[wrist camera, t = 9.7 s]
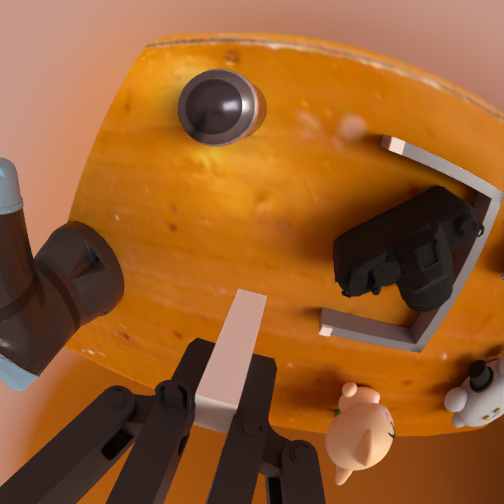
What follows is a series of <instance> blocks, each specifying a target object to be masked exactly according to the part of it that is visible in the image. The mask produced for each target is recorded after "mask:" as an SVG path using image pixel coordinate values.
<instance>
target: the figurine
mask: <svg viewBox="0 0 504 504" xmlns="http://www.w3.org/2000/svg"><path fill="white" fill-rule="evenodd" d="M468 374H469V377H468V378H467V379H465V381H464V382H463V383H462V384H461V386H460V387H456V388H453V389H451V390H450V391H449V392H448V393H447V395H446V396H445V399H444V405H445V407H446V409H447V410H448V411H451V412H456V413H455V414H454V415H453V416H452V425H453V426H454V427H457V428H459V427H462V426H464V425H467V426H471V427H477V426H482V425H484V424H487V423H489V422H491V421H493V420H495V419H496V418H498V417H499V416H501V415H502V414H503V413H504V354H503V355H502V356H501V357H500V359H497V360H494V361H491V362H489V363H487V364H486V363H485V362H484V361H483V360H477V361H475V362H474V363H472V365H471V366H470V367H469V370H468Z"/></svg>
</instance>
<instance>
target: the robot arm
mask: <svg viewBox="0 0 504 504" xmlns="http://www.w3.org/2000/svg"><path fill="white" fill-rule="evenodd" d="M123 293H124V280H123V275H122V271H121V268H120V266H119V263H118V261H117V259H116V257H115V255H114V253H113V252H112V250H111V249H110V247H109V246H108V244H107V243H106V242H105V241H104V239H103V238H102V237H101V236H100V235H99V234H98V233H97V232H95V231H94V230H93V229H91V228H90V227H88V226H86V225H84V224H82V223H79V222H69V223H66V224H64V225H63V226H61V227H59V228H58V229H56V230H55V231H54V232H53V233H52V234H51V236H50V237H49V239H48V240H47V241H46V243H45V244H44V245H43V246H42V248H41V249H40V250H39V252H38V253H37V255H36V256H35V257H34V258H33V256H32V252H31V247H30V243H29V239H28V234H27V229H26V224H25V218H24V212H23V199H22V197H21V195H20V189H19V183H18V176H17V171H16V168H15V166H14V165H13V163H12V162H11V161H9V160H7V159H5V158H0V379H1V380H2V381H3V382H4V383H5V384H6V385H7V386H8V387H9V388H10V389H11V390H13V391H16V392H22V391H24V390H25V389H26V388H27V387H28V386H29V385H30V384H31V383H32V382H33V381H34V380H35V379H37V378H38V377H39V375H40V374H41V373H42V372H43V370H44V369H45V368H46V367H47V365H48V364H49V363H50V362H51V361H52V359H53V358H54V357H55V356H56V354H57V353H58V352H59V351H60V350H61V349H62V347H63V346H64V345H65V344H66V343H67V341H68V340H69V339H70V338H71V337H72V336H73V334H74V333H75V332H76V331H77V330H78V329H79V328H80V327H81V326H83V325H85V324H87V323H88V322H90V321H92V320H94V319H95V318H97V317H99V316H103V315H106V314H108V313H109V312H111V311H112V310H113V309H114V308H115V307H116V305H117V304H118V303H119V302H120V301H121V299H122V297H123ZM266 299H267V296H265V295H261V294H257V293H254V292H250V291H246V290H242V289H238V291H237V294H236V296H235V299H234V301H233V304H232V306H231V308H230V311H229V313H228V316H227V318H226V321H225V323H224V325H223V328H222V330H221V333H220V335H219V338H218V340H217V343H213V342H209V341H206V340H203V339H200V338H196V339H195V340H194V341H192V342H191V343H190V344H189V345H188V347H187V349H186V351H185V353H184V355H183V357H182V359H181V361H180V363H179V365H178V366H177V368H176V370H175V372H174V374H173V376H172V378H171V380H165V381H163V382H161V383H159V384H158V385H157V386H156V387H155V392H156V395H153V396H145V395H137V394H133V393H132V392H131V391H130V390H129V389H127V388H125V387H123V386H117V385H116V386H112V387H109V388H108V389H106V390H105V391H104V392H103V393H102V394H100V395H99V396H98V397H97V398H96V399H95V400H94V401H93V402H92V403H91V404H90V405H89V406H87V407H86V408H85V409H84V410H83V411H82V412H81V413H80V414H79V415H78V416H77V417H76V418H75V419H73V420H72V421H71V422H70V423H69V424H68V425H67V426H66V427H65V428H64V429H63V430H62V431H60V432H59V433H58V434H57V435H56V436H55V437H54V438H53V439H52V440H51V441H50V442H49V443H47V444H46V445H45V446H44V447H43V448H42V449H41V450H40V451H39V452H38V453H37V454H36V455H34V456H33V457H32V458H31V459H30V460H29V461H28V462H27V463H26V464H25V465H24V466H23V467H21V468H20V469H19V470H18V471H17V472H16V473H15V474H14V475H13V476H12V477H11V478H9V480H7V481H6V482H5V483H4V484H3V485H2V486H1V487H0V504H76V503H77V502H78V501H79V500H80V499H81V498H82V497H83V496H84V495H85V494H86V493H87V492H88V491H89V490H90V489H91V488H92V487H93V486H94V485H95V484H96V483H97V482H98V481H99V480H100V479H101V478H102V476H103V475H104V474H105V473H106V472H107V471H108V470H109V469H110V468H111V467H112V466H113V465H114V464H115V463H116V461H118V459H119V458H120V457H121V456H122V455H123V454H124V453H125V452H126V451H127V449H129V447H130V446H131V445H132V444H133V443H134V442H135V441H136V442H135V444H134V446H133V448H132V450H131V452H130V454H129V456H128V458H127V460H126V462H125V464H124V466H123V468H122V471H121V472H120V475H119V477H118V479H117V481H116V483H115V485H114V487H113V489H112V491H111V493H110V495H109V498H108V500H107V502H106V504H163V503H164V501H165V498H166V496H167V493H168V491H169V488H170V486H171V483H172V480H173V478H174V475H175V473H176V470H177V467H178V465H179V462H180V460H181V457H182V454H183V452H184V449H185V447H186V444H187V442H188V439H189V436H190V430H191V427H192V425H193V422H194V425H197V426H201V427H204V428H207V429H210V430H214V431H217V432H221V433H224V434H227V438H226V441H225V444H224V447H223V449H222V453H221V457H220V460H219V463H218V466H217V469H216V472H215V476H214V479H213V482H212V485H211V488H210V491H209V494H208V497H207V500H206V503H205V504H251V503H252V499H253V494H254V490H255V486H256V482H257V477H258V473H261V474H263V475H265V483H266V495H267V504H326V502H325V496H324V490H323V484H322V478H321V472H320V467H319V461H318V455H317V452H316V449H315V447H313V445H312V444H311V443H309V442H307V441H304V440H294V441H290V440H288V439H286V438H284V437H282V436H280V435H279V434H277V433H276V432H275V431H274V430H273V429H272V428H271V426H270V424H269V420H268V415H269V410H270V405H271V399H272V394H273V389H274V383H275V378H276V372H277V367H276V364H275V360H274V359H273V358H269V357H265V356H261V355H257V354H253V350H254V346H255V342H256V338H257V334H258V330H259V327H260V323H261V319H262V315H263V311H264V307H265V303H266Z"/></svg>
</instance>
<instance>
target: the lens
mask: <svg viewBox="0 0 504 504" xmlns="http://www.w3.org/2000/svg"><path fill="white" fill-rule="evenodd" d="M178 115H179V119H180V122H181V125H182V127H183V128H184V130H185V131H186V132H187V133H188V134H189V135H190V136H191V137H192V138H193V139H195V140H196V141H198V142H200V143H202V144H205V145H208V146H225V145H229V144H232V143H235V142H237V141H239V140H240V139H242V138H245V137H247V136H250V135H251V134H253V133H254V132H256V131H257V130H258V129H259V128H260V126H261V125H262V123H263V121H264V119H265V116H266V101H265V98H264V96H263V94H262V93H261V91H260V90H259V89H258V88H257V87H256V86H255V85H253V84H252V83H251V82H250V81H249V80H248V79H246V78H245V77H244V76H242V75H241V74H239V73H237V72H235V71H232V70H228V69H212V70H208V71H205V72H203V73H201V74H199V75H197V76H196V77H194V78H193V79H192V80H191V81H190V82H189V83H188V84H187V85H186V86H185V88H184V89H183V91H182V93H181V95H180V98H179V103H178Z"/></svg>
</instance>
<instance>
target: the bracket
mask: <svg viewBox="0 0 504 504" xmlns="http://www.w3.org/2000/svg"><path fill="white" fill-rule="evenodd" d="M380 147H383V148H385V149H388V150H390V151H393V152H395V153H398V154H400V155H403V156H406V157H408V158H410V159H413V160H415V161H418V162H420V163H422V164H425V165H427V166H429V167H431V168H434V169H436V170H438V171H440V172H442V173H444V174H446V175H449V176H451V177H453V178H455V179H457V180H459V181H461V182H463V183H465V184H466V185H468V186H470V187H472V188H474V189H476V190H478V192H477V195H476V198H475V201H474V203H473V206H472V207H473V209H474V210H475V211H476V212H477V215H478V220H479V223H482V225H483V226H484V228H485V229H484V234H483V235H481V236H480V237H479V238H478V237H477V236H476V237H475V238H474V239H473V240H472V241H471V242H470V243H467V244H465V245H464V246H462V247H461V248H459V249H457V250H455V251H454V252H453V254H452V260H453V271H452V272H453V285H452V286H453V291H452V294H451V297H450V298H449V299H448V300H447V301H446V302H445V303H444V304H443V305H442V306H440V307H438V308H436V309H433V310H431V311H427V312H421V313H420V314H419V316H418V318H417V319H416V321H415V322H414V324H413V326H412V327H411V328H406V327H402V326H397V325H393V324H389V323H384V322H380V321H376V320H371V319H367V318H363V317H359V316H355V315H350V314H346V313H342V312H338V311H334V310H330V309H326V308H322V310H321V313H320V315H319V334H320V335H324V336H328V337H329V336H330V335H334V336H339V337H343V338H348V339H352V340H357V341H361V342H366V343H371V344H376V345H381V346H386V347H391V348H396V349H402V350H407V351H413V352H418V353H420V352H421V351H422V349H423V348H424V347H425V345H426V344H427V343H428V341H429V340H430V338H431V337H432V335H433V334H434V333H435V331H436V330H437V328H438V327H439V325H440V324H441V322H442V321H443V319H444V318H445V316H446V315H447V313H448V311H449V310H450V308H451V307H452V305H453V303H454V302H455V300H456V298H457V297H458V295H459V293H460V291H461V290H462V288H463V286H464V284H465V282H466V281H467V279H468V277H469V275H470V273H471V271H472V269H473V267H474V265H475V263H476V261H477V259H478V257H479V255H480V253H481V251H482V249H483V247H484V244H485V242H486V240H487V238H488V235H489V233H490V231H491V228H492V226H493V223H494V221H495V218H496V216H497V213H498V210H499V208H500V205H501V202H502V199H503V196H504V193H503V192H502V191H500V190H499V189H497V188H496V187H494V186H492V185H491V184H489V183H487V182H486V181H484V180H482V179H480V178H479V177H477V176H475V175H473V174H471V173H470V172H468V171H466V170H464V169H462V168H460V167H458V166H456V165H455V164H453V163H451V162H449V161H447V160H445V159H442V158H440V157H438V156H436V155H434V154H432V153H430V152H427V151H425V150H423V149H421V148H418V147H416V146H414V145H411V144H409V143H407V142H405V141H402V140H400V139H397V138H395V137H392V136H387V135H383V136H382V140H381V144H380ZM478 232H479V234H478V235H480V233H481V230H480V229H478Z"/></svg>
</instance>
